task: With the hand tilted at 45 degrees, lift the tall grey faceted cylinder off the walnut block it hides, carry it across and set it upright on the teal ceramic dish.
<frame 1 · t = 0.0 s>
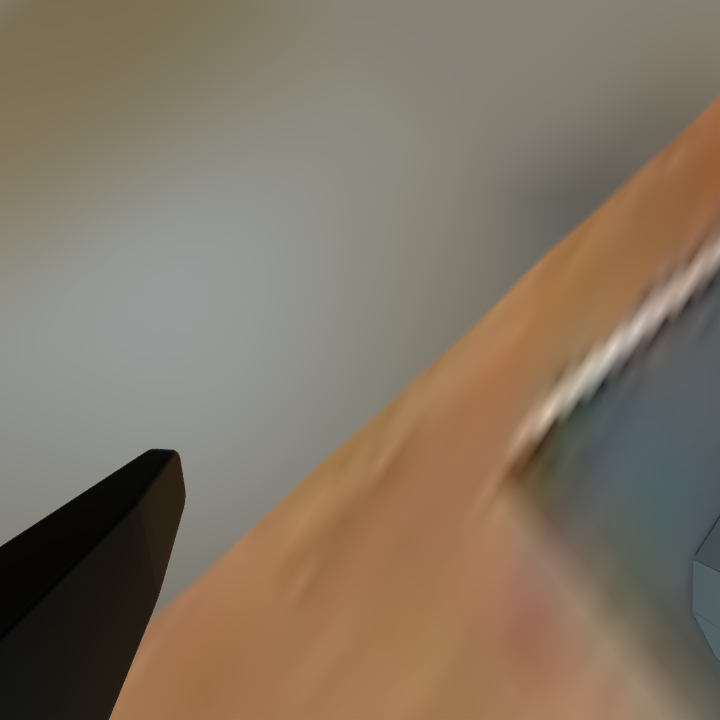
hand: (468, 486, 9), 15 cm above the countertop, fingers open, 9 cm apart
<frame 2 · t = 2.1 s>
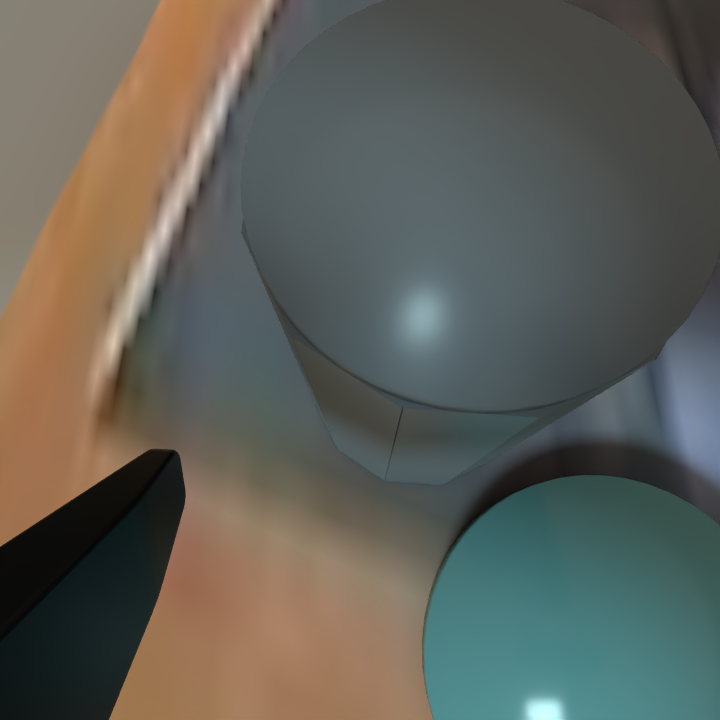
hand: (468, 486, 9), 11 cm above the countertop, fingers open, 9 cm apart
dish: (597, 656, 18), on the countertop
grey faceted cylinder: (417, 378, 21), on the countertop
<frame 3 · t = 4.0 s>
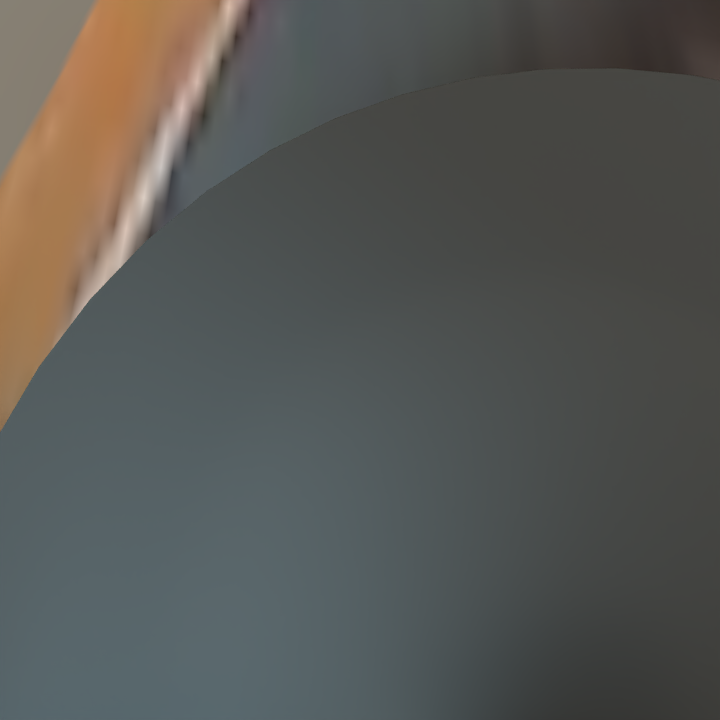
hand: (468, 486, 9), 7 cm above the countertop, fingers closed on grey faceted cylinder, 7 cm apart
grey faceted cylinder: (426, 560, 15), on the countertop, touching gripper
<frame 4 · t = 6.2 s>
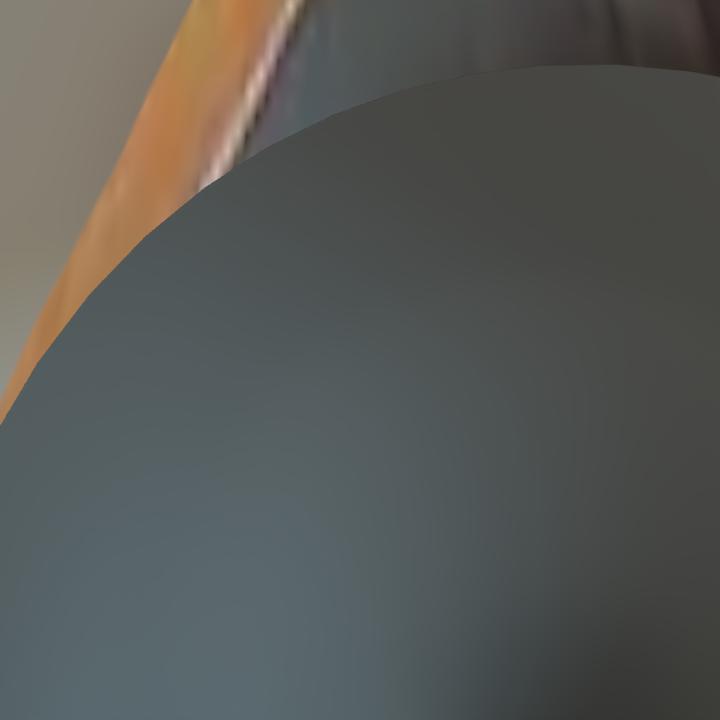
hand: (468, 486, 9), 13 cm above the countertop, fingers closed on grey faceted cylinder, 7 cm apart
grey faceted cylinder: (426, 559, 15), point 7 cm above the countertop, touching gripper
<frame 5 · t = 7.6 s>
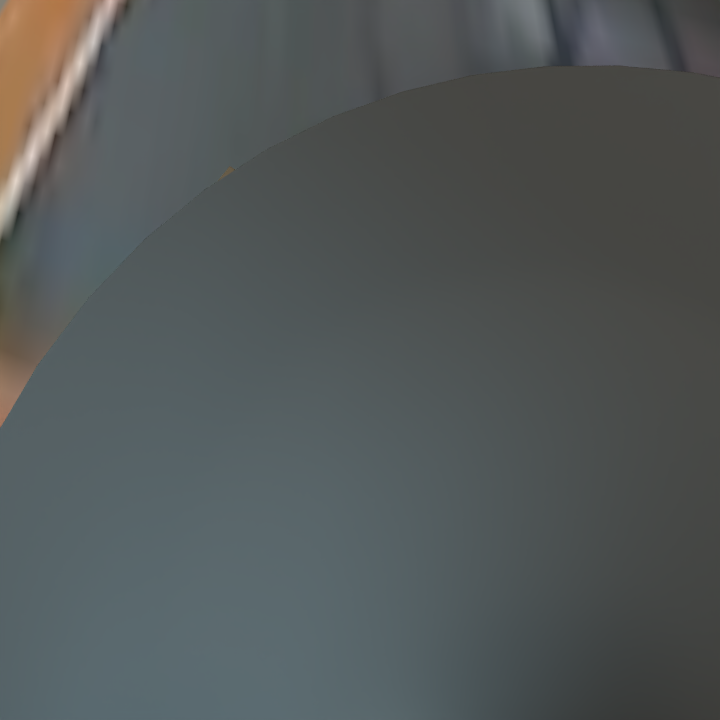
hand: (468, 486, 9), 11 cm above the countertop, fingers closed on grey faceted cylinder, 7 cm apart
grey faceted cylinder: (426, 560, 15), point 4 cm above the countertop, touching gripper
when the fingers open (9 cm above the countertop, at t = 8.6 s): grey faceted cylinder stays where it is, resting on dish.
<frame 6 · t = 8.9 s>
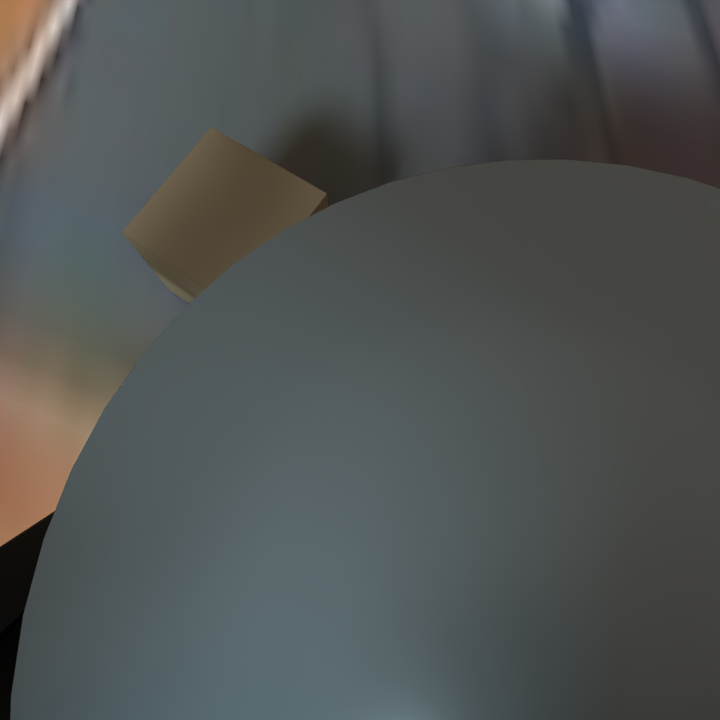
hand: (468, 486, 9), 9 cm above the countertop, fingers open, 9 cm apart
grey faceted cylinder: (422, 559, 16), point 1 cm above the countertop, touching dish
walnut block: (253, 274, 20), on the countertop
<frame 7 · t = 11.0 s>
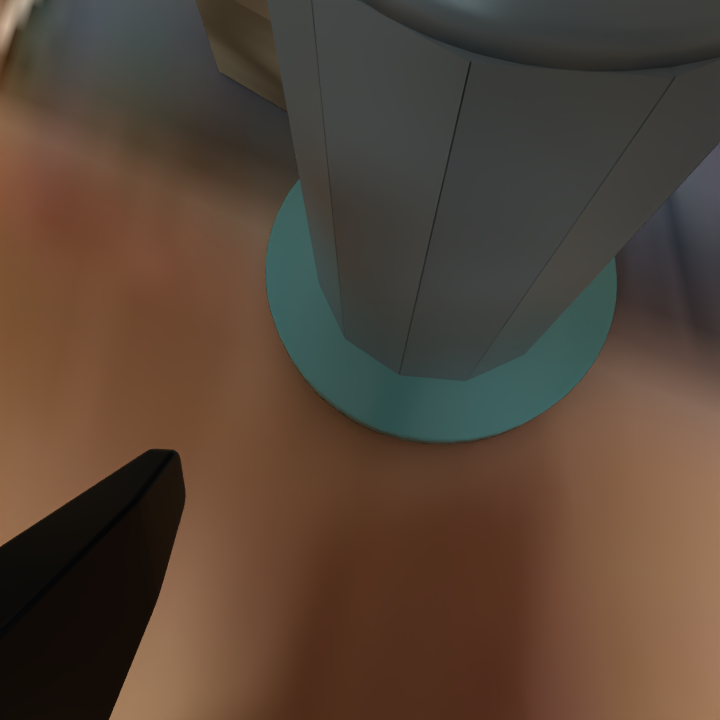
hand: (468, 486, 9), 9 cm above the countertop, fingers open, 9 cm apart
dish: (435, 279, 19), on the countertop
grey faceted cylinder: (439, 264, 18), point 1 cm above the countertop, touching dish
walnut block: (292, 59, 22), on the countertop
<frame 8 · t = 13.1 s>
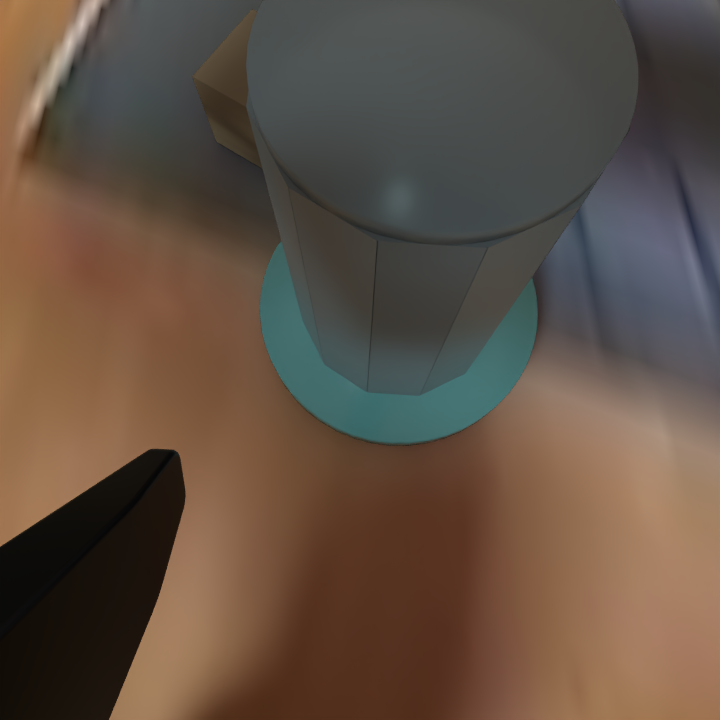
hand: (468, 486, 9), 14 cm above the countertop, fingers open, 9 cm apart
dish: (396, 313, 24), on the countertop
grey faceted cylinder: (397, 303, 23), point 1 cm above the countertop, touching dish
walnut block: (277, 130, 27), on the countertop
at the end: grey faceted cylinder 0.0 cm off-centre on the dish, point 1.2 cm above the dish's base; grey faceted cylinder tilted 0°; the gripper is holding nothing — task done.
